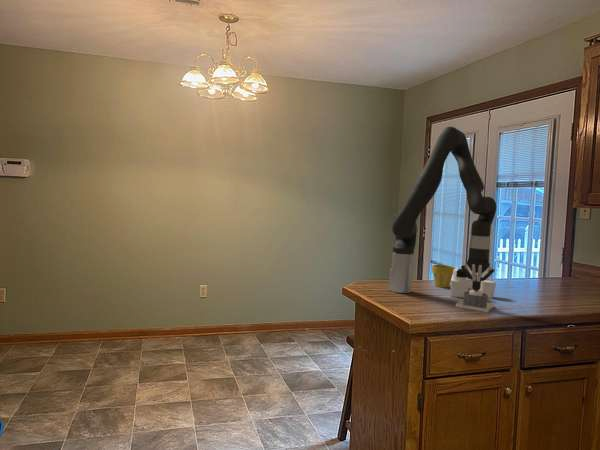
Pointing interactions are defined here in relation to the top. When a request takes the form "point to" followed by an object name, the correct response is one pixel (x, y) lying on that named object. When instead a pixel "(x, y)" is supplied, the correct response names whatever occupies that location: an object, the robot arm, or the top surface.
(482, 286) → the white cylinder
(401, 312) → the top surface
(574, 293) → the top surface
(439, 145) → the robot arm
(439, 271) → the plant pot
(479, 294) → the cap
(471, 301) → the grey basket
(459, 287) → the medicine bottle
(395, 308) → the top surface
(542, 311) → the top surface
